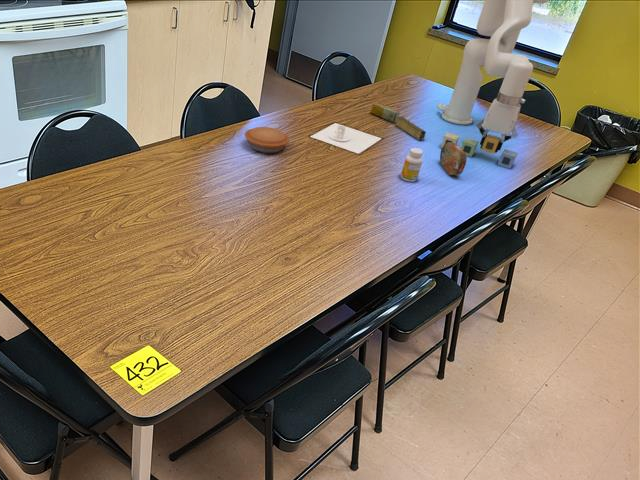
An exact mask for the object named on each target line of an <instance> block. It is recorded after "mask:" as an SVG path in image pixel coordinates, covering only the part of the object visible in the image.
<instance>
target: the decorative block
mask: <svg viewBox="0 0 640 480" xmlns="http://www.w3.org/2000/svg"><path fill="white" fill-rule="evenodd" d="M395 126H396V127H398V128H399V129H400V130H402V131H404V132H405V133H407V134H409V135H410V136H411V137H413V138H415V139H416V140H417V141H424V139H425V137H426V134H427V131H426V130H424V129H422V128H421V127H419V126H418V125H416V124H414V123H413V122H411V121H410V120H408V119H406V118H405V117H403V116H399V117H398V118H397V122H396V123H395Z"/></svg>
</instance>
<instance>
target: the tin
mask: <svg viewBox="0 0 640 480" xmlns="http://www.w3.org/2000/svg"><path fill="white" fill-rule="evenodd" d="M467 157H468V156H466V154H465V152H464V151H463V150H462V149H461V146H459V145H458V143H457V144H456V143H451V142H447V143H445V145H444V146H443V148H441V150H440V154H439V163H440V165H441V167H442V168H443V169H444V171H446V173H447V174H448V175H449V176H460V175H461V174H462V173H463V172H464V170H465V168H466V165H467Z"/></svg>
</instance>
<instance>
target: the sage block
mask: <svg viewBox="0 0 640 480" xmlns="http://www.w3.org/2000/svg"><path fill="white" fill-rule="evenodd" d="M479 143H480V142H479V140H475V139H472V138H468V137H465V139H463V141H462V143H461V146H460V148H461V149H462V150H463V151H464V152H465V154H466V157H470V158H472V157H473V155H475V152H476V150H477V147H478V144H479Z"/></svg>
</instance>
